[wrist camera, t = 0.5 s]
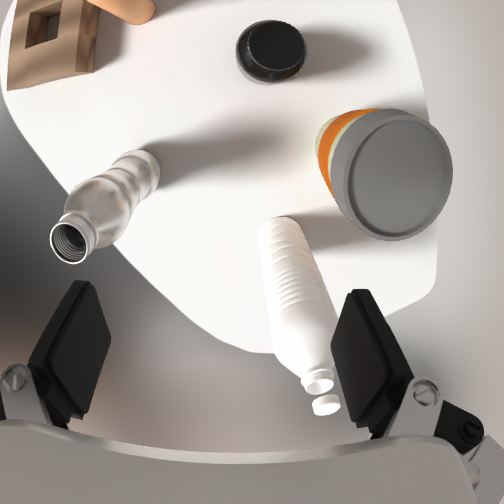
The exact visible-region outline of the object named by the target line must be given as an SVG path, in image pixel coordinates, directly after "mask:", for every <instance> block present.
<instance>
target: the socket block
mask: <svg viewBox="0 0 504 504" xmlns="http://www.w3.org/2000/svg"><path fill="white" fill-rule="evenodd" d="M99 11H100V7H98V6H96V5H94V4H92V3H90V2H88V1H87V0H18V1H17V5H16V10H15V15H14V21H13V27H12V33H11V40H10V49H9V59H8V74H7V91H9V90H16V89H23V88H29V87H32V86H36V85H40V84H43V83H47V82H51V81H55V80H59V79H64V78H68V77H73V76H78V75H83V74H89V73H93V69H94V55H95V43H96V34H97V26H98V18H99ZM60 13H61V14H60ZM57 14H60V21H59V28H58V35H57V38H56V39H53V40H50V41H47V42H46V36H47V28H48V21H49V17H51V16H54V15H57Z"/></svg>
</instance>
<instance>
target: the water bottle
mask: <svg viewBox="0 0 504 504" xmlns="http://www.w3.org/2000/svg"><path fill="white" fill-rule="evenodd" d="M258 246H259V253H260V259H261V266H262V273H263V280H264V288H265V294H266V300H267V307H268V314H269V322H270V329H271V339H272V346H273V350H274V352H275V354H276V356H277V358H278V359H279V361H280V362H281V363H282V364H283V365H284V366H285V367H287V368H288V369H289V370H291V371H292V372H293V373H295V374H296V375H298V376H299V377H300V378H302V379H301V384H302V385H303V386H304V387H305V390H306V391H307V392H308V393H309V394H321V393H324V392H326V391H328V390H330V389H331V388H332V386H333V384H334V382H333V378H334V372H333V371H332V368H333V366H334V364H335V363H334V359H333V356H332V353H331V348H330V344H331V340H332V337H333V335H334V332H335V329H336V326H337V323H338V320H339V319H338V316H337V314H336V312H335V309H334V307H333V304H332V302H331V299H330V297H329V294H328V292H327V289H326V287H325V284H324V282H323V279H322V276H321V273H320V271H319V269H318V267H317V264H316V262H315V260H314V257H313V255H312V252H311V251H310V248H309V245H308V243H307V241H306V238H305V236H304V234H303V231H302V229H301V227H300V226H299V224H298V223H297V222H295V221H294V220H292V219H290V218H287V217H276V218H273V219H270V220H269V221H268V222H266V223H265V224H264V225H263V226H262V227H261V229H260V231H259V234H258ZM327 397H329V398H327ZM335 397H336V398H335ZM323 398H324V399H323ZM318 400H319V401H318ZM315 402H316V403H315ZM314 403H315V404H314ZM312 405H313V410H314V413H315V414H316V415H321V416H322V415H328V414H332V413H334V412H336V411H337V410H338V409H339V408H340V402H339V398H338V396H337V395H325V396H321V397H319V398H317V399H316V400H314V401H313V403H312Z"/></svg>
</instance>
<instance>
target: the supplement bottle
mask: <svg viewBox="0 0 504 504" xmlns="http://www.w3.org/2000/svg"><path fill="white" fill-rule="evenodd" d="M236 59H237V64H238V67H239V69H240V71H241V73H242V74H243V75H244V76H245V77H246V78H247V79H249V80H250V81H252V82H254V83H257V84H262V85H271V84H276V83H281V82H284V81H287V80H289V79H291V78H293V77H295V76H296V75H297V74H298V73H299V72H300V71H301V70H302V68H303V67H304V65H305V63H306V60H307V45H306V42H305V40H304V38H303V36H302V35H301V34H300V32H299V31H298V30H297V29H295V27H293V26H291V25H290V24H287V23H285V22H282V21H277V20H264V21H259V22H256V23H254V24H252V25H250V26H249V27H247V28H246V29H245V30H244V31H243V32H242V34H241V35H240V37H239V39H238V41H237V44H236Z"/></svg>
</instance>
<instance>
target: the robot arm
mask: <svg viewBox="0 0 504 504" xmlns="http://www.w3.org/2000/svg"><path fill="white" fill-rule="evenodd" d="M110 343H111V336H110V332H109V329H108V327H107V324H106V321H105V318H104V315H103V312H102V309H101V306H100V303H99V299H98V296H97V293H96V289H95V287H94V286H93V285H91V283H90V282H89V281H81V280H75V281H74V282H73V283H72V285H71V287H70V288H69V290H68V292H67V293H66V294H65V296H64V298H63V299H62V301H61V302H60V305H59V306H58V308H57V309H56V311H55V312H54V314H53V316H52V318H51V320H50V321H49V323H48V325H47V326H46V328H45V330H44V332H43V334H42V335H41V337H40V339H39V341H38V343H37V345H36V347H35V349H34V351H33V352H32V354H31V357H30V358H29V363H28V365H27V366H26V365H25V364H22V363H15V364H12V365H10V366H8V367H7V368H6V369H5V370H4V371H3V373H2V375H1V377H0V504H499V502H500V500H501V499H502V497H503V495H504V449H503V448H502V447H501V446H500V445H499V444H498V443H497V442H495V440H493V439H492V438H491V437H490V436H489V435H486V436H484V428H483V425H482V423H481V421H480V420H479V419H478V418H477V417H476V416H474V415H472V414H470V413H468V412H466V411H464V410H462V409H460V408H458V407H457V406H454V405H453V404H450V403H449V402H447V401H445V400H443V391H442V388H441V387H440V385H439V384H438V383H437V382H436V381H435V380H433V379H432V378H430V377H426V376H419V377H414V375H413V373H412V372H411V369H410V367H409V365H408V363H407V360H406V358H405V357H404V354H403V352H402V350H401V348H400V346H399V344H398V342H397V340H396V338H395V336H394V334H393V332H392V330H391V328H390V327H389V325H388V324H387V322H386V321H385V318H384V317H383V315H382V313H381V311H380V309H379V307H378V305H377V303H376V302H375V300H374V298H373V296H372V294H371V292H370V291H369V290H368V289H353V290H352V292H351V293H348V294H347V296H346V300H345V303H344V306H343V309H342V312H341V315H340V318H339V320H338V323H337V326H336V329H335V332H334V335H333V337H332V340H331V344H330V348H331V353H332V356H333V359H334V363H335V366H336V369H337V373H338V376H339V379H340V383H341V386H342V390H343V393H344V397H345V400H346V404H347V407H348V411H349V415H350V418H351V420H352V422H355V423H356V426H357V428H362V427H368V428H369V431H370V435H369V437H368V438H367V440H366V441H362V442H356V443H351V444H344V445H338V446H330V447H324V448H315V449H307V450H296V451H284V452H267V453H209V452H192V451H180V450H171V449H162V448H153V447H147V446H139V445H133V444H128V443H123V442H118V441H113V440H108V439H103V438H99V437H95V436H90V435H86V434H82V433H77V432H74V431H73V430H72V428H71V426H70V423H69V422H70V418H71V417H73V418H77V419H80V420H82V419H83V416H84V414H86V413H87V412H88V410H89V407H90V404H91V400H92V397H93V394H94V390H95V387H96V384H97V381H98V378H99V375H100V372H101V369H102V366H103V363H104V360H105V357H106V354H107V352H108V349H109V346H110Z"/></svg>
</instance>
